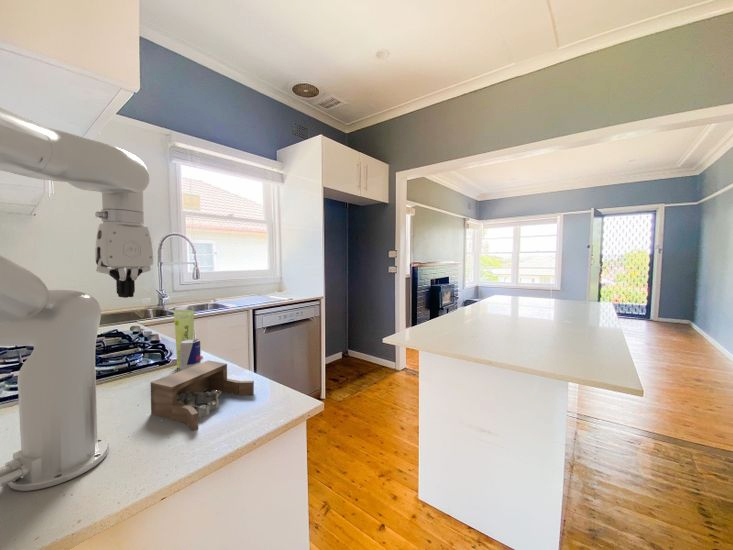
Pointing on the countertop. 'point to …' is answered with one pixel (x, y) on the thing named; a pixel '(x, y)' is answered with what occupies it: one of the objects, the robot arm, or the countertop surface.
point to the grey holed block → (200, 401)
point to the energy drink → (189, 353)
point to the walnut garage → (193, 390)
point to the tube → (183, 328)
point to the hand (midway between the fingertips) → (125, 296)
